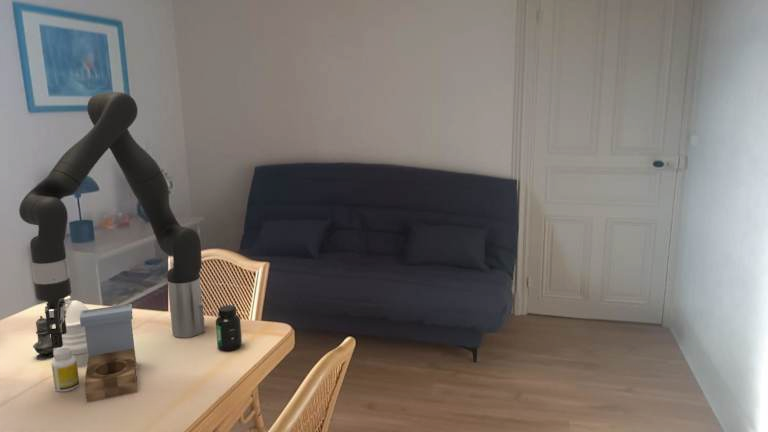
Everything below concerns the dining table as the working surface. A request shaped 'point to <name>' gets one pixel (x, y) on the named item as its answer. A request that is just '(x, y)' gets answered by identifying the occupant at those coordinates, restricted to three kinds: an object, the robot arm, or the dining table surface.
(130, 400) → the dining table surface
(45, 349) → the dark grey chess piece
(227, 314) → the supplement bottle
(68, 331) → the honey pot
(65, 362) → the supplement bottle
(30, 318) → the dining table surface
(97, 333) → the wall
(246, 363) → the dining table surface
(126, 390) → the socket
